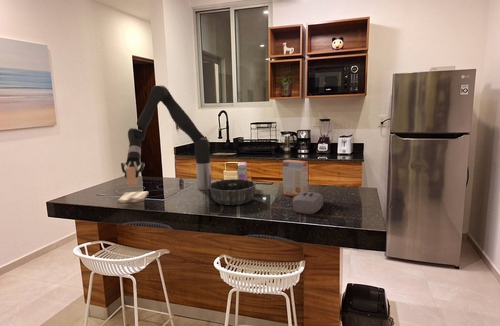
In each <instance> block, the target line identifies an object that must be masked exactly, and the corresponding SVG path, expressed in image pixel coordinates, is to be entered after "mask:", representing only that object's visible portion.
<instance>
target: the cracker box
mask: <svg viewBox="0 0 500 326" xmlns="http://www.w3.org/2000/svg"><path fill="white" fill-rule="evenodd" d="M308 165H309V163H308V161H307V160H306V161H304V160H294V159H284V160H282V195H283V196H287V197H293V198H294V197H295V196H297V195H298V194H300V193H304V192H309V191H308V188H309V187H308V185H309V184H308V181H309V180H308V175H309V172H308V171H309V170H308V169H309V167H308Z"/></svg>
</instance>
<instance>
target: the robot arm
mask: <svg viewBox="0 0 500 326" xmlns="http://www.w3.org/2000/svg"><path fill="white" fill-rule="evenodd" d="M160 103H162V104H163V105H164V106H165V107H166V109H167V111H168V113H169V115H170V117H171V119H172V121H173V122H174V124H175V125H176V126H177V127H178V128H179V129H180V130H181V131H182V132H183V133H184V134H186V135H187V136H188V137H189V138H190V140H191V141H192V142H193V144H194V157H195V164H196V165H195V168H196V187H197V190H201V191H202V190H203V191H206V190H210V187H209V185H210V184H211V183H212V174H211V173H212V172H211V171H212V170H211V158H210V157H211V156H210V155H211V154H210V146H211V144H210V141H209V139H208V138H207V137H205V136H204V135H203V133H202V132H200V130H199V129H198V128H197V126H196V124H195V123H194V122H193V121H192V119H191V118H190V116H189V115H188V113H186V112H185V110H184V109H183V107H181V106H180V104H179V103H178V102H177V101H176V100H175V99H174V97H173V95H172V94H171V92H170V91H169V89H168V88H167V87H166V86H164V85H161V84H159V85H157V84H156V85H154V86H153V87H152V88H151V90H150V93H149V95H148V98H147V101H146V103H145V106H144V108H143V110H142V111H141V114H140V115H139V117H138V120H137V121H136V125H137V126H138V127H139V128H140V129H141V130H140V129H138V128H136V127H130V128H129V129H128V131H127V138H128V142H129V144H128V150H127V155H126V156H127V158H126V161H125V163H124V162H121V163H120V166H121V167H120V168H121V171H122V173H123V174H124V178H125V179H126V180H127V175H126V168H127V167H136V178H139V175H140V173H142V172H143V171H144V169H145V166H146V165H145V162H144V161H143V162H141V157H142V156H141V155H142V152H141V151H142V141H144V140H145V137H146V133H147V132H146V131H147V129H148V126H149V125H150V123H151V121H152V119H153V116H154V114H155V110H156V108H157V106H158V105H159V104H160ZM125 167H126V168H125ZM139 167H140V168H139Z"/></svg>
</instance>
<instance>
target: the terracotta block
mask: <svg viewBox="0 0 500 326" xmlns="http://www.w3.org/2000/svg"><path fill="white" fill-rule="evenodd" d="M126 167H127V166H126ZM125 170H126V175H127V179H126V183H127V186H134V185H135V186H136V185H138V184H139V183H138V182H139V181H138V179H139V177H137V178H136V167H127V168H125Z"/></svg>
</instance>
